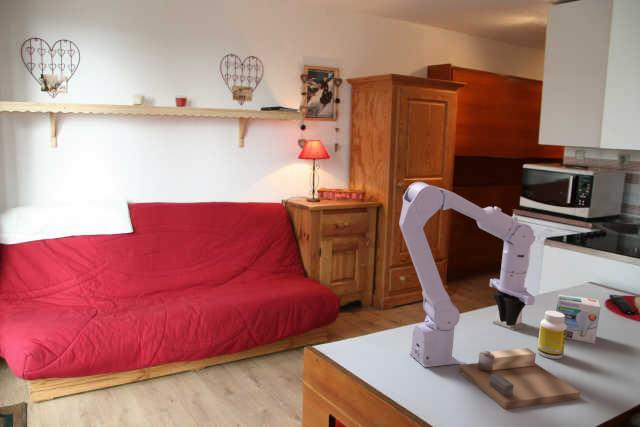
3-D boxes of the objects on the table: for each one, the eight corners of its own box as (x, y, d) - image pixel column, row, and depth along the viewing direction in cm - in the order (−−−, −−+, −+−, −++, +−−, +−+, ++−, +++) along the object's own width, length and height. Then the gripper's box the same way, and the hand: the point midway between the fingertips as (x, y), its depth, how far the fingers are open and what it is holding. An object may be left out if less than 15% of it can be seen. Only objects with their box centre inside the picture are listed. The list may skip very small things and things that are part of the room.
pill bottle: (566, 360, 129) (571, 319, 127) (540, 358, 130) (545, 316, 128) (559, 350, 135) (564, 310, 133) (534, 347, 136) (539, 308, 134)
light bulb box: (553, 336, 144) (558, 300, 143) (552, 328, 151) (557, 293, 149) (596, 344, 140) (601, 306, 139) (593, 335, 147) (598, 299, 145)
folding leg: (483, 371, 117) (485, 356, 116) (475, 364, 120) (476, 349, 120) (535, 365, 121) (536, 350, 121) (525, 359, 124) (527, 344, 124)
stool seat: (504, 409, 105) (506, 391, 104) (459, 370, 121) (460, 355, 120) (579, 398, 110) (581, 381, 110) (526, 363, 126) (527, 348, 126)
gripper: (548, 278, 119) (541, 333, 121) (508, 261, 133) (502, 311, 135) (522, 279, 117) (516, 335, 119) (484, 262, 131) (479, 313, 133)
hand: (507, 323), depth 127 cm, fingers closed
